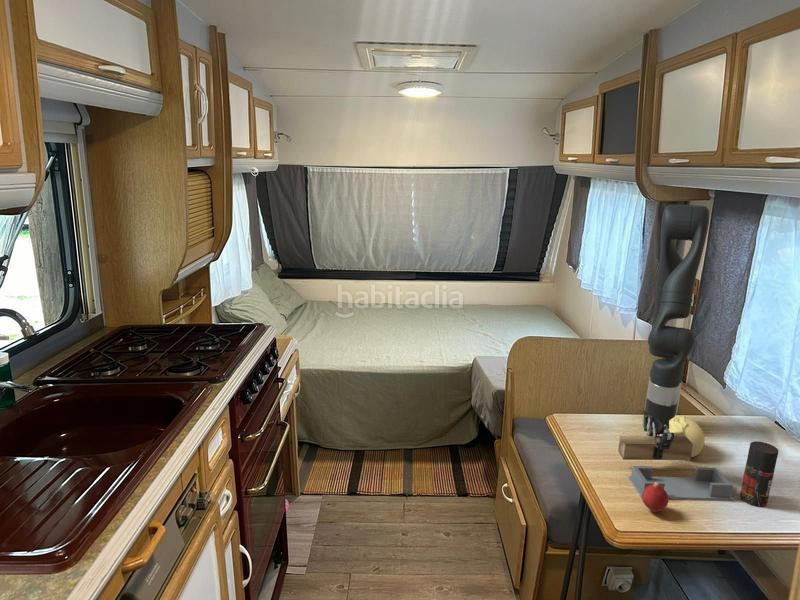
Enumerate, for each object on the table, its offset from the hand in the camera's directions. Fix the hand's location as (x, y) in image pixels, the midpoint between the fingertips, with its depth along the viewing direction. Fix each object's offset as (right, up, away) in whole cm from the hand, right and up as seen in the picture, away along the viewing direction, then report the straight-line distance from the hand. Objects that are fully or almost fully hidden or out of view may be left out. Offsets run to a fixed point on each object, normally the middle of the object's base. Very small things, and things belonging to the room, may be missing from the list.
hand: (653, 453), depth 150 cm
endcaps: (+3, -7, -7) cm, 11 cm away
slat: (0, -1, 0) cm, 1 cm away
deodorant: (+20, -9, -11) cm, 25 cm away
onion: (-8, -10, -16) cm, 20 cm away
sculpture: (+13, -3, +11) cm, 17 cm away
